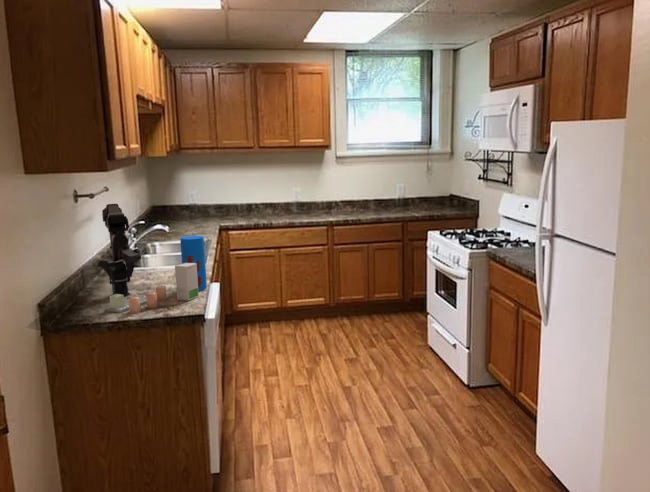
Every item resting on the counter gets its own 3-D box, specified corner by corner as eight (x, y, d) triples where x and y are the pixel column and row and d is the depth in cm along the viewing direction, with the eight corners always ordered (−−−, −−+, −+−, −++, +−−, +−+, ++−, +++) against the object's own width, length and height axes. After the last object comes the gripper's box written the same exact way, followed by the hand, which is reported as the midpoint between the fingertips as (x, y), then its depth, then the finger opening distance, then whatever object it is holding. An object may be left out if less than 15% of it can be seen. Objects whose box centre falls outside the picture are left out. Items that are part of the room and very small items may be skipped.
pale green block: (110, 307, 228) (109, 296, 227) (117, 305, 232) (116, 293, 231) (117, 308, 227) (116, 297, 226) (124, 306, 230) (123, 294, 229)
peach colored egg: (127, 312, 224) (125, 298, 223) (135, 309, 228) (133, 296, 227) (135, 314, 222) (133, 299, 221) (142, 311, 226) (141, 297, 225)
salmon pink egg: (145, 308, 230) (143, 294, 229) (151, 305, 234) (149, 291, 233) (153, 309, 229) (152, 295, 227) (160, 305, 233) (158, 292, 231)
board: (104, 310, 228) (104, 308, 228) (138, 298, 245) (138, 296, 244) (120, 313, 224) (120, 310, 224) (153, 300, 241) (153, 298, 241)
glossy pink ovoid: (154, 300, 241) (153, 287, 240) (161, 298, 245) (160, 285, 244) (162, 301, 239) (161, 288, 238) (168, 299, 243) (167, 286, 242)
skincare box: (188, 301, 239) (186, 266, 236) (176, 299, 242) (173, 265, 239) (199, 296, 247) (197, 262, 244) (187, 295, 249) (185, 262, 246)
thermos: (190, 285, 266) (186, 235, 262) (210, 286, 264) (207, 235, 260) (179, 291, 256) (176, 239, 251) (201, 292, 254) (197, 239, 249)
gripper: (115, 249, 217) (118, 286, 220) (149, 241, 233) (152, 276, 236) (95, 247, 222) (99, 283, 225) (130, 239, 238) (133, 273, 241)
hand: (122, 279), depth 231 cm, fingers open, 9 cm apart
